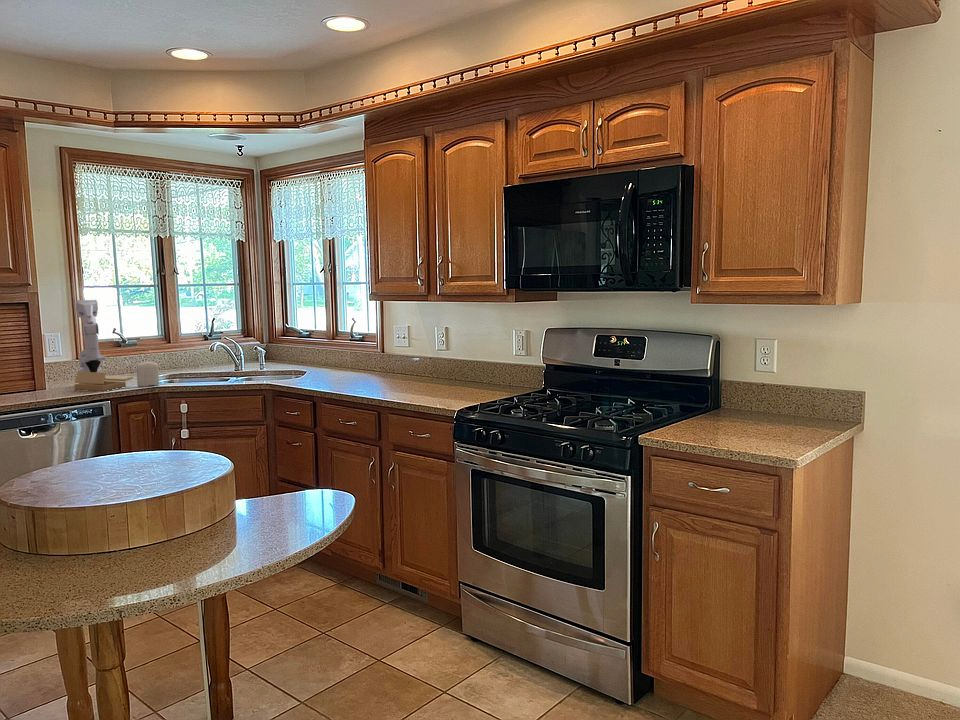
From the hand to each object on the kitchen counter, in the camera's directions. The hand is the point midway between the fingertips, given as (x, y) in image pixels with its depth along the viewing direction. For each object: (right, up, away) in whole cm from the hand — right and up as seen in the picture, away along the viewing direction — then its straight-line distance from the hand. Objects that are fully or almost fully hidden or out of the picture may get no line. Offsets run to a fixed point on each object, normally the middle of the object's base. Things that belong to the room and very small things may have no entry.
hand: (93, 375), depth 362 cm
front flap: (-1, -1, -1) cm, 2 cm away
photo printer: (+20, -6, +14) cm, 26 cm away
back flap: (+4, -1, +13) cm, 14 cm away
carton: (+1, -7, +4) cm, 8 cm away
